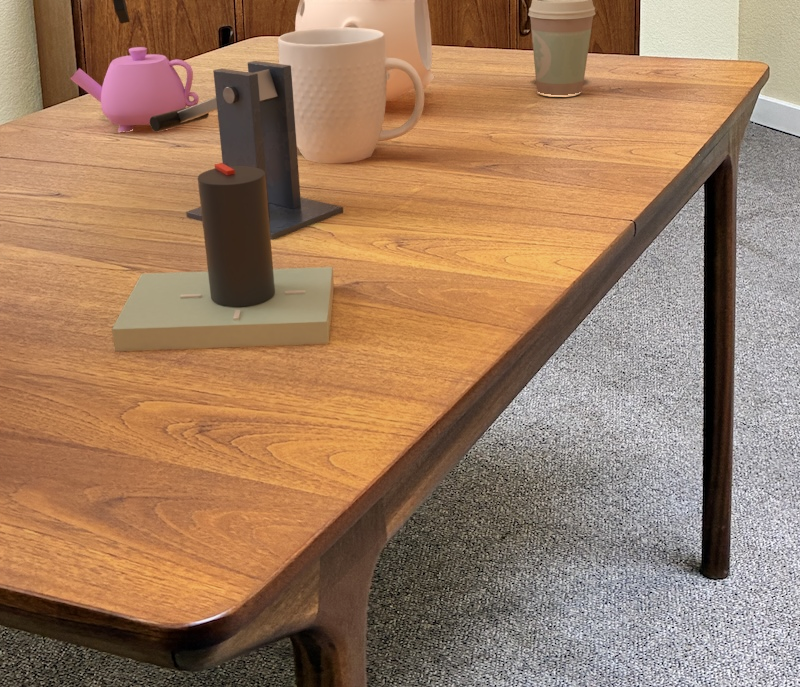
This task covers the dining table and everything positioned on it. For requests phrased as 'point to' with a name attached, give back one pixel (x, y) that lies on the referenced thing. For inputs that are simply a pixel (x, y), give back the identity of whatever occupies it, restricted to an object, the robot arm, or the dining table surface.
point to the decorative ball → (389, 13)
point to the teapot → (139, 88)
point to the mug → (342, 91)
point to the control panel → (224, 313)
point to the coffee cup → (560, 43)
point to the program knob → (237, 235)
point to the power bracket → (265, 144)
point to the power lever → (208, 107)
